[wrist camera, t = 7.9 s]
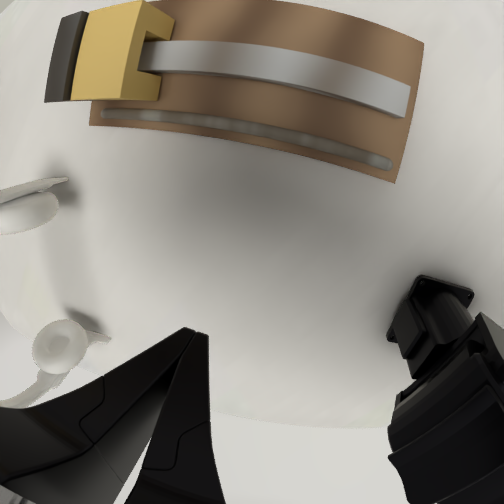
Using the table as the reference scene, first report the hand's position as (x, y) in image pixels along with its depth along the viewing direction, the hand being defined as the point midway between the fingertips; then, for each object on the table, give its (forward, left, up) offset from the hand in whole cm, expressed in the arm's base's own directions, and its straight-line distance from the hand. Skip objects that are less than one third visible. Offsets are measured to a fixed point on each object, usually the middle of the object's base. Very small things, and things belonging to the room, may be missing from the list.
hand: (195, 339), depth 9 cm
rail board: (+3, -10, -12) cm, 16 cm away
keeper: (+10, -10, -11) cm, 18 cm away
